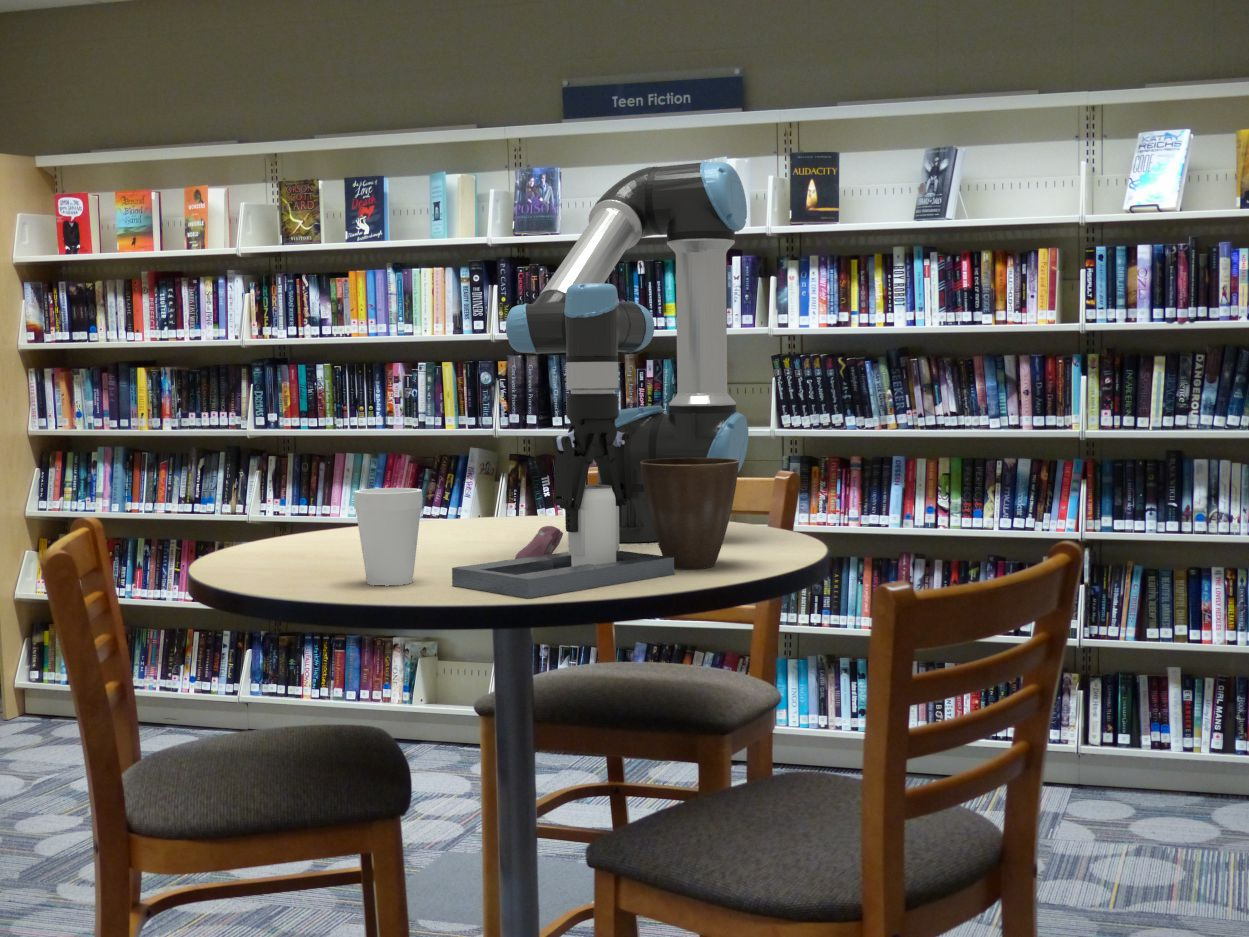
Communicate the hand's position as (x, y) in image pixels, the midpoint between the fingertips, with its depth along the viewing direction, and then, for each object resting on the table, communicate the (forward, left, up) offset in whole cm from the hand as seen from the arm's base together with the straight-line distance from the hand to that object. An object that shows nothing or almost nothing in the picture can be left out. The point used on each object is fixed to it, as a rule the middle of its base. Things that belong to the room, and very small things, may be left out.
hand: (594, 552), depth 191 cm
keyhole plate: (+6, 0, -3) cm, 7 cm away
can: (0, 0, -3) cm, 3 cm away
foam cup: (+24, -17, -4) cm, 29 cm away
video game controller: (-4, -16, -4) cm, 17 cm away
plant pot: (-16, +4, -4) cm, 17 cm away
